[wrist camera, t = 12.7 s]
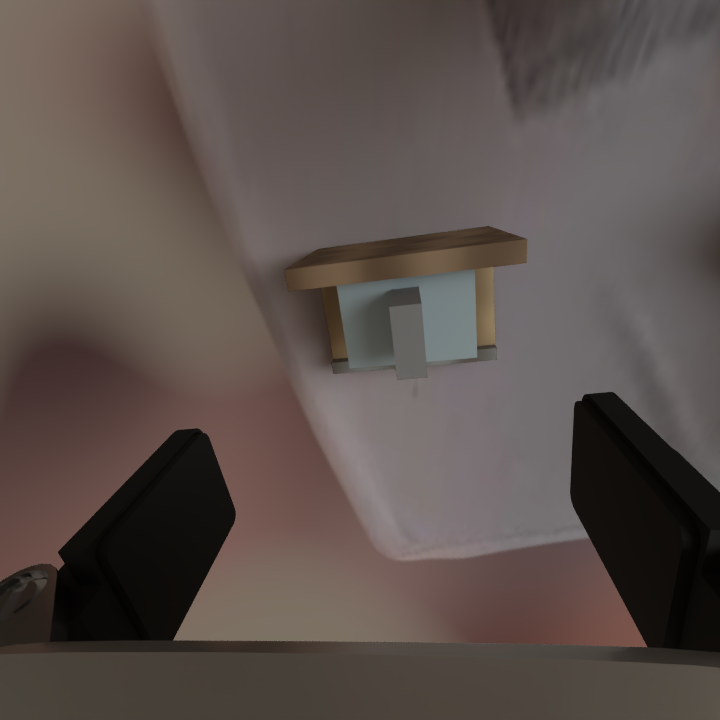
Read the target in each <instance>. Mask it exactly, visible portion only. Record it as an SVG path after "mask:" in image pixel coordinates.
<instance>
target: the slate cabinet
mask: <svg viewBox="0 0 720 720" xmlns="http://www.w3.org/2000/svg"><path fill="white" fill-rule="evenodd" d="M337 292H338V298H339V304H340V311H341V317H342V323H343V330H344V336H345V342H346V348H347V355H348V361H349V367H350V368H362V367H373V366H385V365H396V374H397V380H403V379H415V378H428V377H427V364H426V362H432V361H443V360H455V359H467V358H477V330H476V293H475V269H472V270H464V271H455V272H447V273H439V274H430V275H422V276H413V277H405V278H397V279H388V280H380V281H372V282H363V283H355V284H346V285H338V286H337Z"/></svg>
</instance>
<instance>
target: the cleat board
mask: <svg viewBox="0 0 720 720" xmlns="http://www.w3.org/2000/svg"><path fill="white" fill-rule="evenodd" d="M522 263H527V239H526V238H523V237H520V236H517V235H514V234H511V233H508V232H505V231H502V230H499V229H496V228H493V227H490V226H486V227H479V228H472V229H464V230H457V231H449V232H442V233H434V234H427V235H419V236H412V237H405V238H397V239H390V240H382V241H375V242H367V243H360V244H352V245H345V246H337V247H330V248H323V249H318V250H316V251H315V252H313V253H311V254H310V255H308V256H306V257H305V258H303V259H301V260H300V261H298V262H296V263H295V264H293V265H292V266H290V267H288V268H287V269H285V270H284V272H285V277H286V281H287V286H288V291H296V290H305V289H313V288H321V292H322V298H323V304H324V309H325V315H326V321H327V326H328V332H329V338H330V343H331V349H332V355H333V361H332V368H333V373H334V374H337V373H349V372H360V371H372V370H384V369H395V368H396V365H385V366H373V367H362V368H350V367H349V361H348V355H347V348H346V342H345V336H344V330H343V323H342V317H341V311H340V304H339V298H338V292H337V286H338V285H346V284H355V283H363V282H372V281H380V280H388V279H397V278H405V277H413V276H422V275H430V274H439V273H447V272H455V271H464V270H472V269H475V293H476V330H477V358H467V359H455V360H443V361H432V362H426V364H427V366H430V365H442V364H453V363H465V362H477V361H488V360H497V347H496V346H495V329H494V267H497V266H506V265H514V264H522Z"/></svg>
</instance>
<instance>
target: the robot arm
mask: <svg viewBox="0 0 720 720" xmlns="http://www.w3.org/2000/svg"><path fill="white" fill-rule="evenodd" d="M570 495H571V501H572V504H573V507H574V509H575V511H576V513H577V515H578V517H579V519H580V521H581V522H582V524H583V526H584V528H585V530H586V532H587V534H588V536H589V538H590V539H591V541H592V543H593V545H594V547H595V548H596V551H597V553H598V554H599V556H600V558H601V560H602V562H603V564H604V566H605V568H606V569H607V571H608V573H609V575H610V577H611V579H612V581H613V583H614V584H615V586H616V588H617V590H618V592H619V594H620V596H621V598H622V599H623V601H624V603H625V605H626V607H627V609H628V611H629V613H630V615H631V617H632V618H633V620H634V622H635V624H636V626H637V628H638V630H639V632H640V634H641V635H642V637H643V639H644V641H645V643H646V645H647V647H617V646H615V647H614V646H586V645H554V644H488V643H486V644H485V643H422V642H421V643H419V642H331V641H330V642H329V641H328V642H327V641H326V642H325V641H173V639H174V637H175V635H176V633H177V631H178V629H179V627H180V626H181V624H182V622H183V620H184V618H185V616H186V614H187V612H188V610H189V608H190V606H191V605H192V603H193V601H194V599H195V597H196V595H197V593H198V591H199V589H200V587H201V585H202V583H203V581H204V580H205V578H206V576H207V574H208V572H209V570H210V568H211V566H212V564H213V562H214V560H215V558H216V557H217V555H218V553H219V551H220V549H221V547H222V545H223V543H224V541H225V539H226V537H227V536H228V534H229V532H230V530H231V527H232V526H233V524H234V521H235V516H236V514H235V508H234V505H233V502H232V499H231V497H230V494H229V491H228V489H227V486H226V483H225V480H224V478H223V475H222V472H221V469H220V467H219V464H218V461H217V458H216V456H215V453H214V450H213V447H212V445H211V442H210V439H209V437H208V436H207V434H205V433H203V432H202V431H201V430H200V429H197V428H196V429H185V430H177V431H175V432H174V433H173V434H172V435H171V436H170V437H169V438H168V439H167V440H166V441H165V442H164V443H163V444H162V445H161V446H160V447H159V448H158V449H157V451H155V452H154V453H153V454H152V456H150V457H149V459H148V460H147V461H146V462H145V463H144V464H143V465H142V466H141V467H140V468H139V469H138V470H137V471H136V472H135V473H134V474H133V475H132V476H131V477H130V478H129V479H128V480H127V481H126V482H125V483H124V484H123V485H122V486H121V487H120V489H119V490H117V492H116V493H115V494H114V495H113V496H112V497H111V498H110V499H109V500H108V501H107V502H106V503H105V504H104V505H103V506H102V507H101V508H100V509H99V510H98V511H97V512H96V513H95V514H94V516H92V517H91V518H90V520H89V521H88V522H87V523H85V525H84V526H83V527H82V528H81V529H80V530H79V531H78V532H77V533H76V534H75V535H74V536H73V537H72V538H71V539H70V540H69V541H68V542H67V543H66V544H65V545H64V546H63V547H62V548H61V549H60V550H59V551H58V553H59V555H60V556H61V558H62V560H63V561H64V563H65V564H64V565H63V566H62V567H61V568H60V570H59V571H58V570H57V569H56V567H54V566H53V565H51V564H38V565H33V566H30V567H27V568H25V569H22V570H20V571H18V572H16V573H14V574H12V575H10V576H9V577H7V578H5V579H3V580H2V581H1V582H0V720H720V492H719V491H718V490H717V489H716V488H715V487H714V486H713V485H712V484H711V483H709V482H708V481H707V480H706V479H705V478H704V477H703V476H702V475H701V474H700V473H699V472H698V471H697V470H696V469H695V468H694V467H693V466H692V465H691V464H690V463H689V462H688V461H686V460H685V459H684V458H683V457H682V456H681V455H680V454H679V453H678V452H677V451H676V450H674V449H673V448H671V447H670V446H669V445H668V444H667V443H666V442H665V441H664V440H663V439H662V438H661V437H660V436H659V435H658V434H657V433H656V432H655V431H654V430H652V429H651V428H650V427H649V426H648V425H647V424H646V423H645V422H644V421H643V420H642V419H641V418H640V417H639V416H638V415H637V414H636V413H635V412H634V411H633V410H632V409H631V408H630V407H629V406H628V405H627V404H625V403H624V402H623V401H622V400H621V399H620V398H619V397H618V396H617V395H616V394H615V393H613V392H606V393H595V394H585V395H584V396H583V398H582V401H577V402H575V406H574V423H573V444H572V465H571V487H570Z"/></svg>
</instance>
